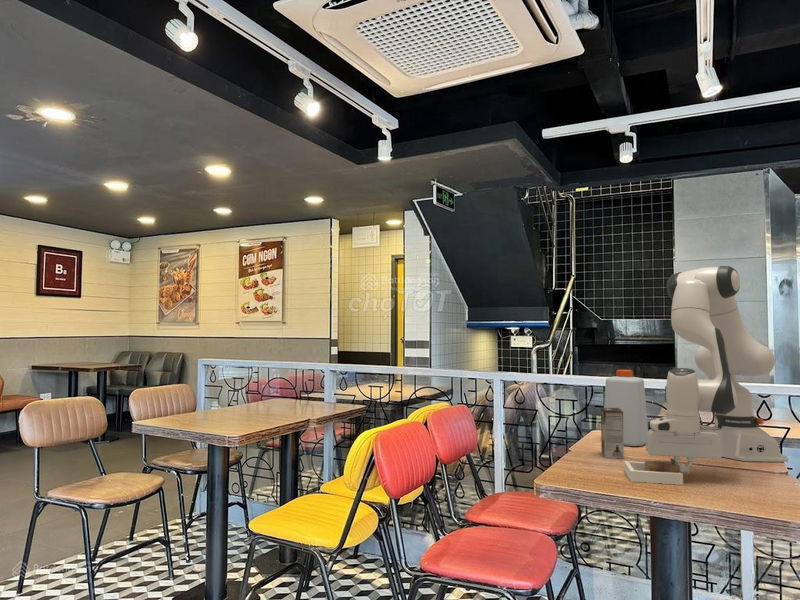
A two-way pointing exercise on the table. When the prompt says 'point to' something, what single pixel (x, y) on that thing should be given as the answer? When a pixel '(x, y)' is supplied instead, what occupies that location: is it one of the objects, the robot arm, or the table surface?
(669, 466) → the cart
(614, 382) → the plastic bottle
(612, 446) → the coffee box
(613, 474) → the table surface
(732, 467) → the table surface
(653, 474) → the bay
